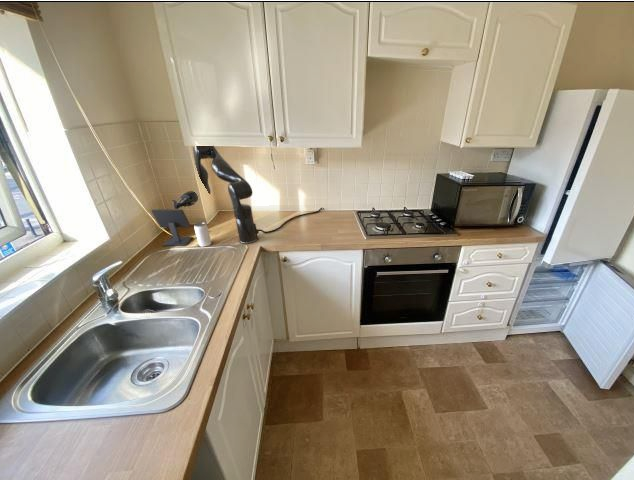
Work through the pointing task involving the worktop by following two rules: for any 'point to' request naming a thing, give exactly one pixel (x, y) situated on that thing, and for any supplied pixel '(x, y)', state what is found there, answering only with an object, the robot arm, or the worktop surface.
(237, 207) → the robot arm
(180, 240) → the monitor stand
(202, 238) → the can
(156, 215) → the screen
